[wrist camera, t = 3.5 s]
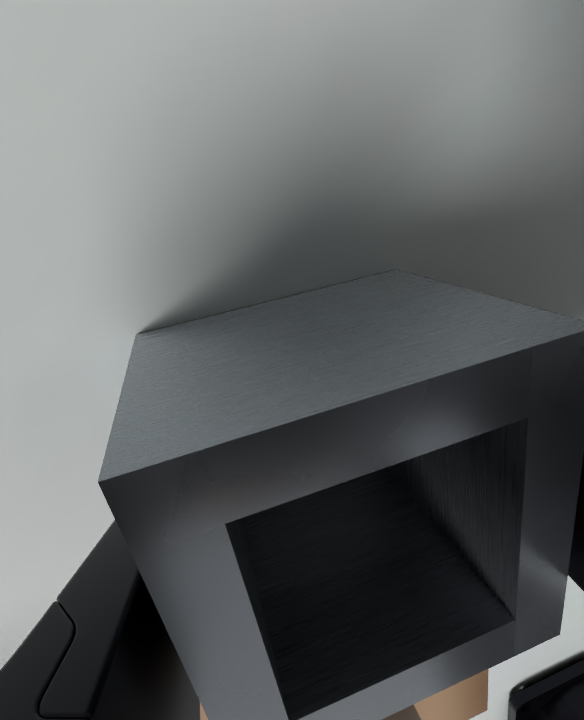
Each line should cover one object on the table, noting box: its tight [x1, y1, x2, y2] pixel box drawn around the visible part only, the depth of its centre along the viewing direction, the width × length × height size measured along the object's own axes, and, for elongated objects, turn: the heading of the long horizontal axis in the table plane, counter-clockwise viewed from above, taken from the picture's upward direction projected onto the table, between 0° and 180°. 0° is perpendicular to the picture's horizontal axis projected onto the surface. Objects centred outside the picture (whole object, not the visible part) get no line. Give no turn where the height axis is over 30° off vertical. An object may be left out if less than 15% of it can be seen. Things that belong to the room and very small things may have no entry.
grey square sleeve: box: [98, 270, 584, 720], centre depth 8 cm, size 6×6×5 cm
